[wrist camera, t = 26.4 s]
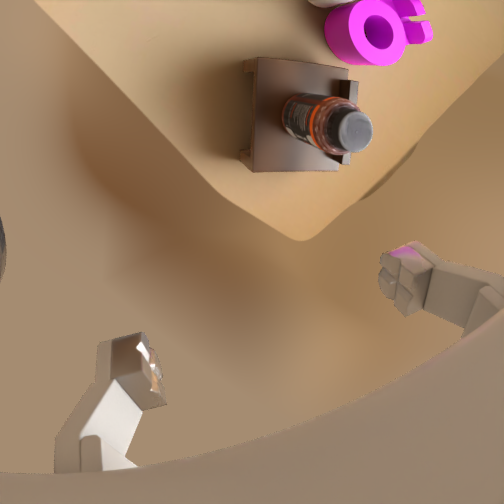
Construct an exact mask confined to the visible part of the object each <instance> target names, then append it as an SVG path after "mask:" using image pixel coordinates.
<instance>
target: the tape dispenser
mask: <svg viewBox="0 0 504 504" xmlns="http://www.w3.org/2000/svg"><path fill="white" fill-rule="evenodd" d="M422 14H426V13H425V10H424V8H423V5H422V3H421V1H420V0H362V1H358V2H354V3H350V4H347V5H343V6H339V7H337V8H335V9H333V10H332V11H331V12H330V13H329V15H328V16H327V18H326V21H325V26H324V33H325V38H326V41H327V43H328V46H329V47H330V49H331V50H332V52H333V53H334V54H335V55H336V56H337V57H338V58H339V59H341V60H342V61H344V62H346V63H349V64H353V65H380V66H386V65H391V64H393V63H395V62H396V61H397V60H398V59H399V58H400V57H401V55H402V54H403V51H404V48H405V46H406V45H408V44H422V43H425V42H427V41H430V40H431V39H432V37H433V32H432V29H431V26H430V23H429V21H410V20H409V16H419V15H422ZM364 28H365V30H366V33H367V38H366V36H365V33H364Z"/></svg>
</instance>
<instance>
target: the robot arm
mask: <svg viewBox="0 0 504 504" xmlns="http://www.w3.org/2000/svg"><path fill="white" fill-rule="evenodd" d="M380 264H381V266H382V267H383V268H382V269H381V271H380V273H379V279H378V282H379V285H380V289H381V291H382V292H383V294H384V295H385V296H386V297H387V298H389V299H392V300H394V306H395V307H396V308H397V309H398V310H399V311H400V312H401V313H402V314H403V315H404V316H405V317H406V316H408V315H410V314H413V313H415V312H417V311H419V310H421V309H423V310H425V311H427V312H429V313H432V314H434V315H436V316H438V317H440V318H443V319H445V320H447V321H450V322H452V323H454V324H456V325H458V326H460V327H463V328H465V329H464V332H463V334H462V336H461V339H460V340H459V341H458V342H456V343H455V344H453V345H452V346H450V347H449V348H447V349H445V350H444V351H442V352H441V353H439V354H438V355H436V356H434V357H433V358H431V359H430V360H428V361H426V362H425V363H423V364H421V365H420V366H418V367H416V368H415V369H413V370H411V371H409V372H407V373H406V374H404V375H402V376H400V377H399V378H397V379H395V380H393V381H391V382H389V383H387V384H386V385H384V386H382V387H380V388H378V389H376V390H374V391H372V392H370V393H368V394H366V395H364V396H362V397H360V398H358V399H355V400H353V401H351V402H349V403H347V404H345V405H343V406H340V407H338V408H336V409H334V410H331V411H329V412H327V413H324V414H322V415H320V416H317V417H315V418H313V419H310V420H307V421H305V422H303V423H300V424H297V425H294V426H292V427H289V428H286V429H284V430H281V431H278V432H275V433H272V434H269V435H266V436H263V437H260V438H257V439H254V440H251V441H248V442H244V443H241V444H238V445H234V446H231V447H227V448H224V449H220V450H216V451H213V452H209V453H205V454H200V455H196V456H192V457H187V458H183V459H178V460H174V461H168V462H163V463H158V464H151V465H146V466H139V467H138V466H136V465H135V464H134V463H132V462H131V461H130V460H128V459H127V458H126V457H125V454H126V452H127V449H128V447H129V444H130V442H131V440H132V437H133V435H134V432H135V430H136V427H137V425H138V423H139V420H140V418H141V415H142V413H143V412H142V411H144V410H148V409H152V408H156V407H160V406H164V405H167V403H166V396H165V389H164V386H163V385H162V383H161V382H160V381H161V379H162V377H163V374H162V368H161V364H160V361H159V358H158V356H157V354H156V352H155V350H154V349H152V348H150V347H149V340H148V338H147V336H146V335H145V333H144V332H139V333H135V334H132V335H127V336H123V337H119V338H115V339H112V340H108V341H104V342H100V343H99V345H98V349H97V360H96V375H95V383H92V384H91V385H90V386H89V388H88V389H87V391H86V392H85V393H84V395H83V396H82V398H81V399H80V401H79V402H78V404H77V405H76V407H75V408H74V410H73V411H72V413H71V414H70V416H69V418H68V419H67V421H66V422H65V424H64V425H63V427H62V428H61V430H60V432H59V433H58V435H57V436H56V438H55V455H54V474H26V473H6V472H0V504H504V277H502V276H501V275H499V274H496V273H492V272H488V271H485V270H481V269H477V268H474V267H470V266H466V265H462V264H459V263H454V262H451V261H446V262H445V261H444V260H442V259H441V258H440V257H438V256H437V255H436V254H434V253H433V252H432V251H431V250H429V249H428V248H427V247H425V246H424V245H423V244H421V243H420V242H419V241H412V242H410V243H407V244H405V245H403V246H401V247H398V248H395V249H393V250H390V251H387V252H385V253H383V254H382V255H381V257H380Z"/></svg>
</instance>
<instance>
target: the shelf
mask: <svg viewBox="0 0 504 504" xmlns="http://www.w3.org/2000/svg"><path fill="white" fill-rule="evenodd" d="M243 72H254V85H253V107H252V131H251V150H240V162H242V163H243V164H244V165H245V166H246V167H247V168H248V169H249V170H250V171H252V172H253V173H254V172H287V171H338V169H339V163H340V164H342V165H350V158H351V152H349V153H346V154H343V155H333V154H330V153H327V152H325V151H323V150H320V149H318V148H316V147H314V146H312V145H309V144H307V143H305V142H302V141H300V140H298V139H296V138H294V137H292V136H291V135H290V134H289V133H288V132H287V131H286V130H285V128H284V126H283V123H282V111H283V108H284V105H285V104H286V102H287V101H288V100H289V99H290V98H291V97H293V96H294V95H297V94H300V93H312V94H320V95H328V96H335V97H340V98H344V99H347V100H350V101H352V102H353V103H354V104H356V105H357V94H358V82H357V81H352V80H348V69H345V68H339V67H334V66H328V65H322V64H315V63H308V62H301V61H293V60H284V59H274V58H262V57H257V58H252V59H248V60H244V62H243Z"/></svg>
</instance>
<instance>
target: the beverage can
mask: <svg viewBox="0 0 504 504" xmlns="http://www.w3.org/2000/svg"><path fill="white" fill-rule="evenodd" d="M308 1H309V2H310V3H311V4H313V5H315V6H318V7H322V8H328V7H332V6H336V5H339V4H343V3H346V2H350V1H354V0H308Z"/></svg>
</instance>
